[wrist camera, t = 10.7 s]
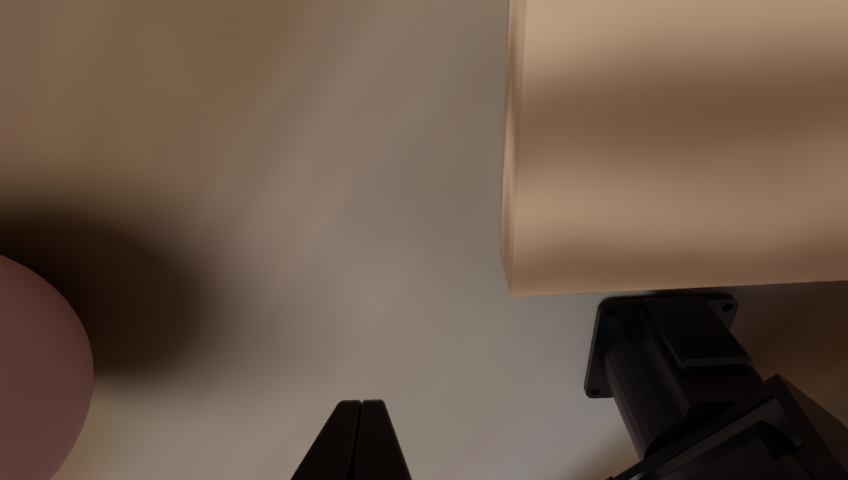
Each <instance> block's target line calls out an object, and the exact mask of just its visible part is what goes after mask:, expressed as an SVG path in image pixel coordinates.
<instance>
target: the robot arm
mask: <svg viewBox="0 0 848 480" xmlns="http://www.w3.org/2000/svg"><path fill="white" fill-rule="evenodd" d="M725 304H726V305H725ZM724 305H725V306H724ZM609 309H612V310H611V311H609V312H606V311H608V310H609ZM737 309H738V302H737V301H736V300H735V298H734V297H733V296H732V295H730V294H715V295H694V296H674V297H654V298H633V299H613V300H605V301H603V302H602V303H601V304H600V305H599V306H598V308H597V314H596V320H595V326H594V331H593V337H592V343H591V348H590V354H589V360H588V366H587V371H586V377H585V383H584V390H585V393H586V395H587V396H588V397H589V398H613V397H614V400H615V402H616V405H617V407H618V409H619V412H620V414H621V416H622V419H623V421H624V423H625V426H626V428H627V431H628V433H629V435H630V438H631V440H632V442H633V445H634V447H635V449H636V452H637V454H638V457H639V459H640V461H639V462H637V463H636V464H634V465H633V466H631V467H629V468H628V469H626V470H624V471H623V472H621V473H620V474H618V475H616V476H615V477H611V476H610V477H609V478H607V479H605V480H848V429H847V428H846V427H845V426H844V425H843V424H842V423H841V422H840V421H839V420H838V419H837V418H835V417H834V416H833V415H831V414H830V413H829V412H828V411H826V410H825V409H824V408H822V407H821V406H820V405H819V404H817V403H816V402H815V401H813V400H812V399H811V398H809V397H808V396H807V395H806V394H804V393H803V392H802V391H800V390H799V389H798V388H796V387H795V386H794V385H793V384H791V383H790V382H789V381H787V380H786V379H785V378H784V377H782V376H781V375H780V374H778V373H777V374H776V375H774V376H772V377H771V378H769V379H768V380H766V381H765V382H764V380H763V379H762V378H761V377H760V375H759V374H758V373H757V371H756V370H755V369H754V367H753V366H752V365H751V362H752V359H751V357H750V356H749V355H748V353H747V352H746V351H745V350H744V348H743V347H742V346H741V344H740V343H739V342H738V341H737V339H736V338H735V337H734V335H733V334H732V333H731V332H730V327H731V325H732V322H733V319H734V317H735V314H736V311H737ZM291 480H412V478H411V476H410V473H409V470H408V467H407V464H406V462H405V459H404V456H403V453H402V450H401V448H400V445H399V442H398V439H397V436H396V434H395V431H394V428H393V425H392V422H391V419H390V417H389V414H388V411H387V408H386V405H385V403H384V401H383V400H380V399H378V400H364V401H363V402H362V403H361V401H360V400H343V401H340V402H339V403H338V404H337V406H336V407H335V409H334V411H333V412H332V414H331V415H330V417H329V419H328V420H327V422H326V423H325V425H324V427H323V428H322V430H321V431H320V433H319V435H318V436H317V438H316V440H315V441H314V443H313V444H312V446H311V448H310V449H309V451H308V452H307V454H306V456H305V457H304V459H303V460H302V462H301V464H300V465H299V467H298V468H297V470H296V472H295V473H294V475H293V476H292V478H291Z"/></svg>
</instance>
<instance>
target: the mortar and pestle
mask: <svg viewBox="0 0 848 480" xmlns="http://www.w3.org/2000/svg"><path fill="white" fill-rule="evenodd" d="M93 380H94V368H93V356H92V352H91V347H90V343H89V340H88V337H87V334H86V331H85V329H84V327H83V325H82V323H81V321H80V319H79V317H78V316H77V314H76V313H75V311H74V310H73V308H72V307H71V306H70V304H69V303H68V302H67V300H66V299H65V298H64V297H63V296H62V295H61V294H60V293H59V292H58V291H57V290H56V289H55V288H54V287H53V286H52V285H51V284H49V283H48V282H47V281H46V280H45V279H43V278H42V277H40V276H39V275H38V274H36V273H35V272H33V271H32V270H30V269H29V268H27V267H25V266H23V265H21V264H19V263H17V262H16V261H14V260H12V259H9V258H7V257H4V256H2V255H0V480H50V479H51V478H52V477H53V476H54V475H55V473H56V472H57V471H58V470H59V468H60V467H61V465H62V464H63V462H64V461H65V459H66V458H67V456H68V455H69V453H70V452H71V450H72V449H73V447H74V445H75V443H76V440H77V438H78V436H79V434H80V432H81V430H82V428H83V426H84V423H85V420H86V417H87V414H88V410H89V407H90V402H91V398H92V393H93Z"/></svg>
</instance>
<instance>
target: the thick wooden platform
mask: <svg viewBox="0 0 848 480" xmlns="http://www.w3.org/2000/svg"><path fill="white" fill-rule="evenodd" d="M500 256H501V259H502V263H503V267H504V271H505V275H506V279H507V283H508V286H509V290H510V294H511V297H518V296H538V295H559V294H579V293H599V292H620V291H640V290H660V289H680V288H701V287H721V286H741V285H762V284H782V283H802V282H823V281H843V280H848V0H510V6H509V33H508V60H507V88H506V115H505V143H504V170H503V197H502V225H501V252H500Z"/></svg>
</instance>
